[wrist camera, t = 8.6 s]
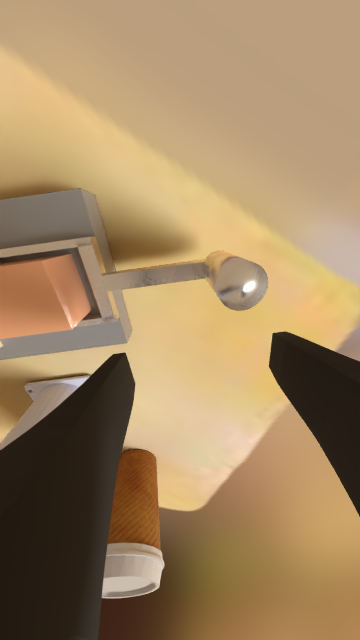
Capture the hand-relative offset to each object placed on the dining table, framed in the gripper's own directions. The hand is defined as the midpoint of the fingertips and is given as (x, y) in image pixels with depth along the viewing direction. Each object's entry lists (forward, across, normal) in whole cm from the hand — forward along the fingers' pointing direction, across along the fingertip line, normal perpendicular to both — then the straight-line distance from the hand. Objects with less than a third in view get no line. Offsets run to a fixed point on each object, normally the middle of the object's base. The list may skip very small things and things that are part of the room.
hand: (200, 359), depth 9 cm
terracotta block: (+7, +11, -3) cm, 13 cm away
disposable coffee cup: (+10, +11, +27) cm, 31 cm away
